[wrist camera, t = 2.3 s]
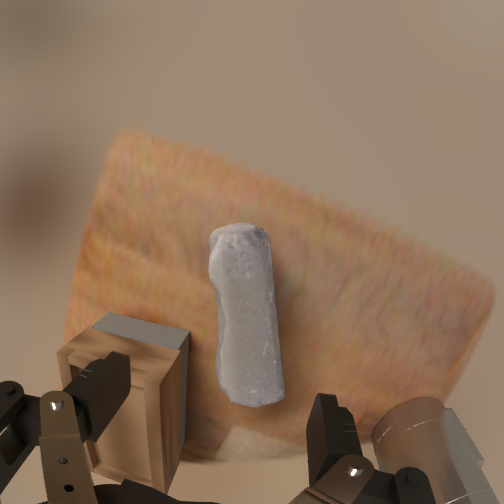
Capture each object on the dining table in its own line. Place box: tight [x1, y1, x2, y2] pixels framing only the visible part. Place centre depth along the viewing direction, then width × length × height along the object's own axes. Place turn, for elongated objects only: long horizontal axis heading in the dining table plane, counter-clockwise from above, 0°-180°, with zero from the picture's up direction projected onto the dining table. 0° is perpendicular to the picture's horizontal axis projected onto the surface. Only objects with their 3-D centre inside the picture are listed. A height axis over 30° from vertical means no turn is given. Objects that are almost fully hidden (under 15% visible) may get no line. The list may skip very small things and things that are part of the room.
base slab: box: [91, 312, 190, 455], centre depth 29 cm, size 8×15×4 cm, turn 172°
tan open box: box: [57, 327, 181, 495], centre depth 25 cm, size 9×15×5 cm, turn 172°
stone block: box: [208, 223, 285, 407], centre depth 23 cm, size 12×5×10 cm, turn 4°
